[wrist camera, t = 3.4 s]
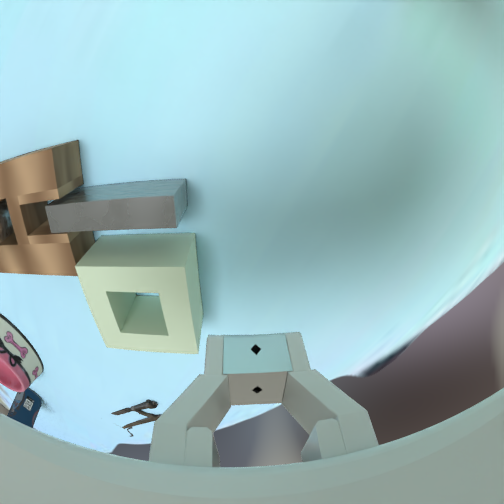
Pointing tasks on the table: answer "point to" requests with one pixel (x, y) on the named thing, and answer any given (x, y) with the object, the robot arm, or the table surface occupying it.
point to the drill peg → (5, 222)
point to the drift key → (120, 206)
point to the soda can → (25, 407)
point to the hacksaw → (138, 409)
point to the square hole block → (144, 291)
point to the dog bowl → (17, 358)
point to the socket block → (41, 212)
